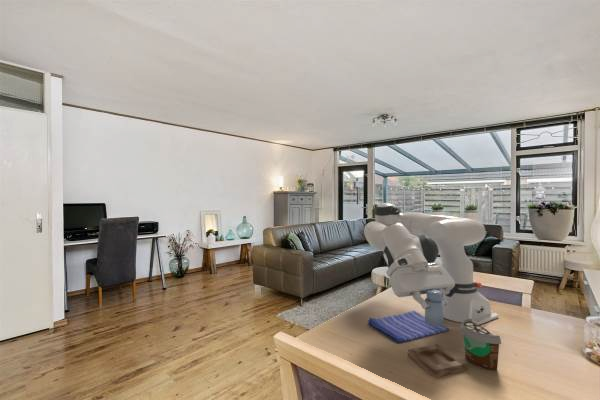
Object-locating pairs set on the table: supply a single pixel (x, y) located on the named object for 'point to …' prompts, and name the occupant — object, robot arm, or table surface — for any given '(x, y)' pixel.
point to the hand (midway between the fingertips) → (435, 306)
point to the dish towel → (405, 327)
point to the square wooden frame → (437, 360)
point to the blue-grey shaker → (434, 308)
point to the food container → (480, 345)
